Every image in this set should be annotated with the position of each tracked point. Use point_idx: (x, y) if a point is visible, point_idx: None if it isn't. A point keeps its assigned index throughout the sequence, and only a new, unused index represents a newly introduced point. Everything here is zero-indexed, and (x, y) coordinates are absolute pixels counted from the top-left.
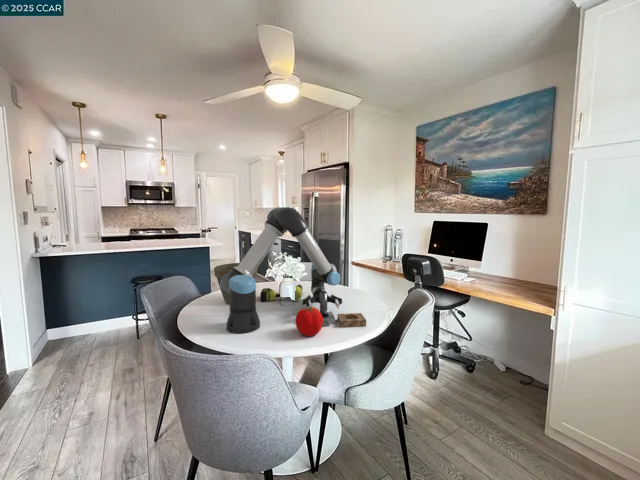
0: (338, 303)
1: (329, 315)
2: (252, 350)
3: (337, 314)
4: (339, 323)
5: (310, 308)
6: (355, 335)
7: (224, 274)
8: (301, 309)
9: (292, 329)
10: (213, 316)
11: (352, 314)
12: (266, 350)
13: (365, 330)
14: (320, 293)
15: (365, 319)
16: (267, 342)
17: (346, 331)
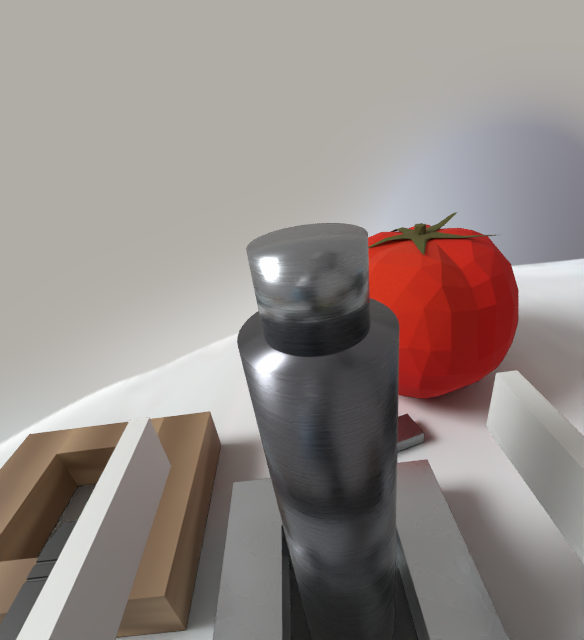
0: (138, 419)
1: (271, 577)
2: (573, 269)
3: (166, 600)
4: (209, 496)
5: (416, 239)
6: (187, 368)
7: None
8: (485, 244)
9: (553, 403)
10: None
11: (12, 569)
12: (522, 274)
13: (104, 414)
14: (376, 307)
15: (24, 443)
16: (570, 300)
17: (210, 398)
